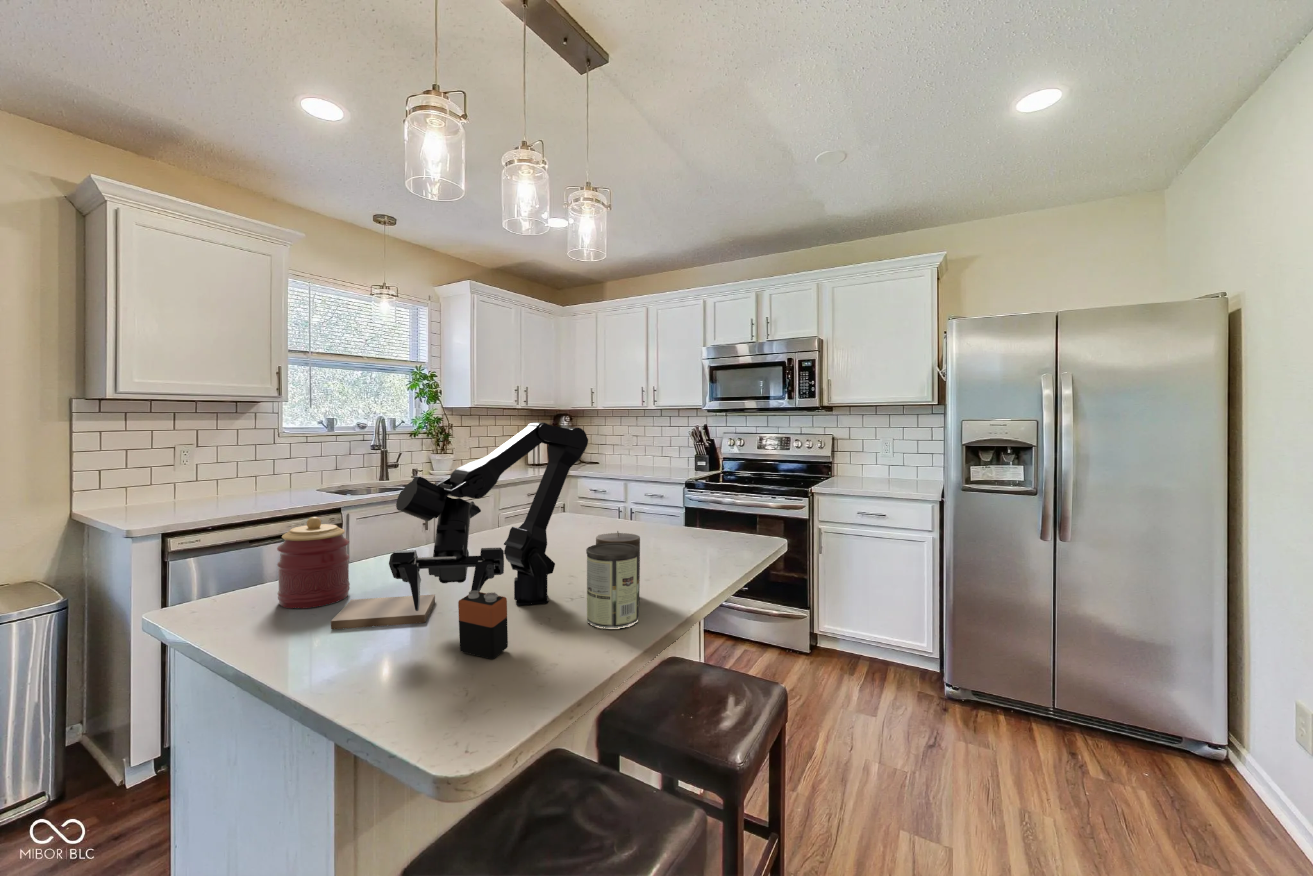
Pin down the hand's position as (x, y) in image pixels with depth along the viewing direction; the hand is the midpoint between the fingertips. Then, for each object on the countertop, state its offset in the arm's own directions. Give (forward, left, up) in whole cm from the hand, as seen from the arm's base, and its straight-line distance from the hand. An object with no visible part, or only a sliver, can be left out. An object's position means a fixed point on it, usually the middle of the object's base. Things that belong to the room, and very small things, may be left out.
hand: (444, 608), depth 91 cm
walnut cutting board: (+13, -19, -7) cm, 24 cm away
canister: (+30, -32, -7) cm, 45 cm away
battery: (-7, +3, -7) cm, 10 cm away
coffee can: (-30, -7, -7) cm, 31 cm away
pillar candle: (-33, -19, -7) cm, 39 cm away
